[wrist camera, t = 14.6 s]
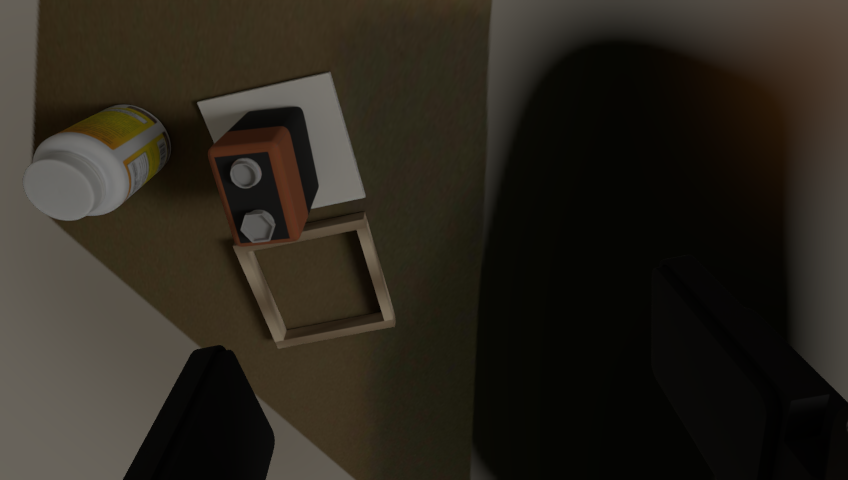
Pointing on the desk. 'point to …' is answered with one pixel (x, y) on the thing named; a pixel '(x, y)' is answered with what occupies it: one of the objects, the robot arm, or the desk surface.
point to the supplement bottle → (96, 163)
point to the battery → (265, 176)
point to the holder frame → (329, 328)
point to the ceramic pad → (322, 125)
